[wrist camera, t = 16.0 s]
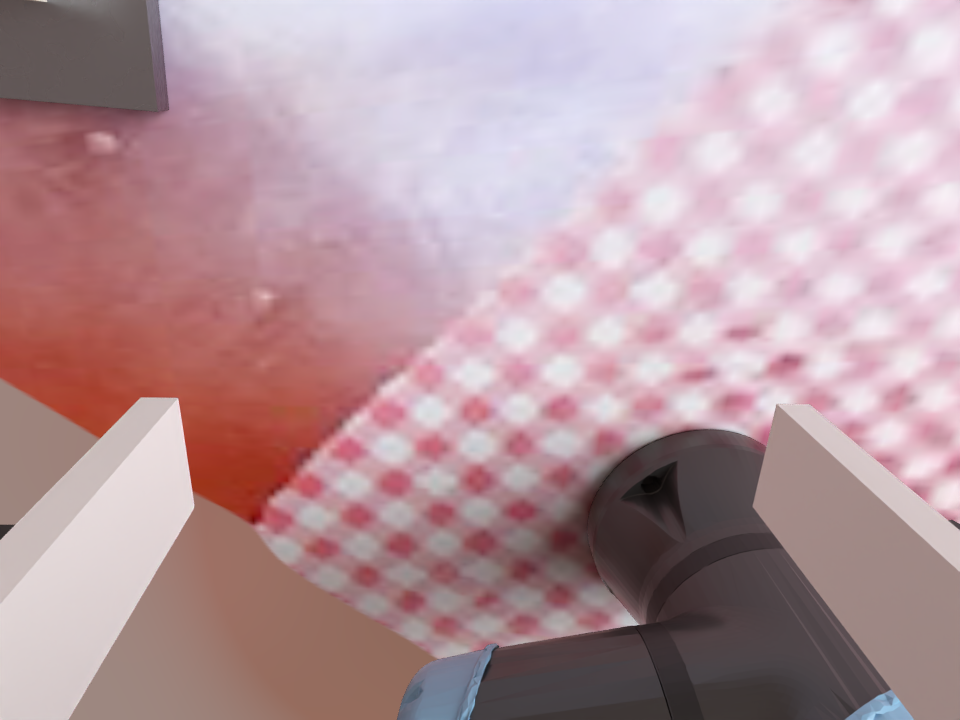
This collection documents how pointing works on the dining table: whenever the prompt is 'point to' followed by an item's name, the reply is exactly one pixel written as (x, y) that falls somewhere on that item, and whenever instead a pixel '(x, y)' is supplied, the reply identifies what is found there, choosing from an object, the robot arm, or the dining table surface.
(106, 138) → the dining table surface
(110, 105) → the post base
